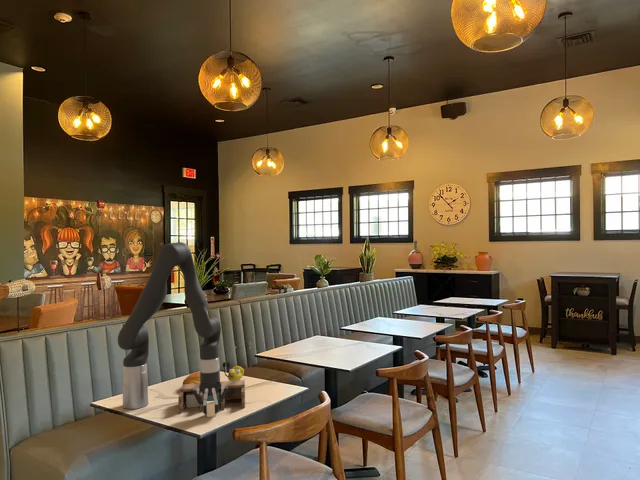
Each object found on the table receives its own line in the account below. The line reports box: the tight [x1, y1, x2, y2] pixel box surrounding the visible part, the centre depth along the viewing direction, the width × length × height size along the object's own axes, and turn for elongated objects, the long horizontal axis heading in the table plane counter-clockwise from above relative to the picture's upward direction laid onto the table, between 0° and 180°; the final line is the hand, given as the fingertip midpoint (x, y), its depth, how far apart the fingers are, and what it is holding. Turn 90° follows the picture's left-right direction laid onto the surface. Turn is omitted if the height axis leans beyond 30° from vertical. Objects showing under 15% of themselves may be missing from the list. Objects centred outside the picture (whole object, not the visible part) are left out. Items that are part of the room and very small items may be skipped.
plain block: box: [186, 391, 200, 408], centre depth 194 cm, size 5×5×5 cm
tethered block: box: [206, 390, 221, 418], centre depth 189 cm, size 5×18×5 cm, turn 9°
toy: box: [222, 361, 245, 381], centre depth 211 cm, size 6×14×15 cm
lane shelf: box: [177, 379, 246, 414], centre depth 193 cm, size 26×13×8 cm, turn 99°
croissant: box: [182, 371, 200, 385], centre depth 217 cm, size 14×16×8 cm
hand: (211, 413), depth 182 cm, fingers closed on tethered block, 3 cm apart
